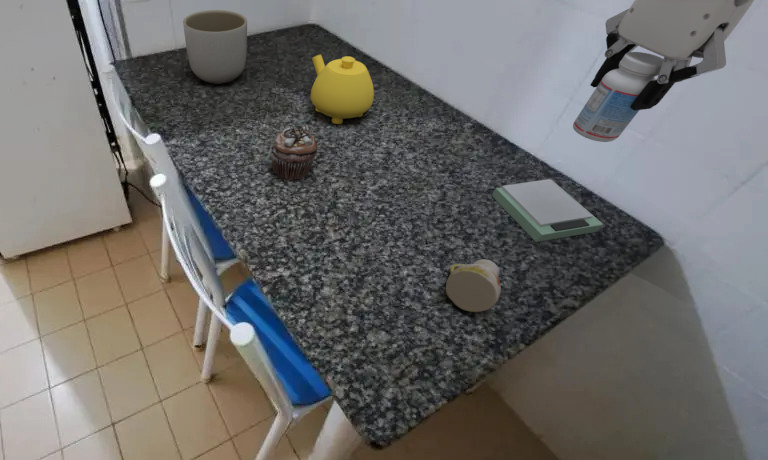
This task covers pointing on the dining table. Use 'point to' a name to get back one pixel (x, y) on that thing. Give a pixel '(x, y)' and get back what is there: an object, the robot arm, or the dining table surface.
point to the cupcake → (293, 152)
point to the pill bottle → (617, 97)
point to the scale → (545, 210)
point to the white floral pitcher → (474, 285)
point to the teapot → (341, 88)
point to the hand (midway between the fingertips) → (620, 95)
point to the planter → (216, 44)
